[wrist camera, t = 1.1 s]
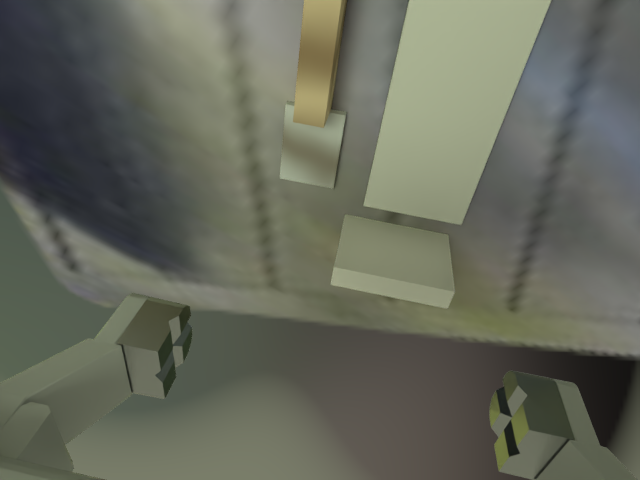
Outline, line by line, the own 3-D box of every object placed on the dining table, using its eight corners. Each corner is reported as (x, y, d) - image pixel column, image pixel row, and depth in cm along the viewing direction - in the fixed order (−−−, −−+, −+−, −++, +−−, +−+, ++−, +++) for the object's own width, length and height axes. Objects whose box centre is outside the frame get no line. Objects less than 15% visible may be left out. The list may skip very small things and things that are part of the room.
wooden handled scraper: (299, -40, 31) (286, -33, 28) (370, -28, 31) (365, -20, 27) (281, 174, 41) (270, 196, 38) (334, 184, 41) (327, 207, 38)
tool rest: (421, -55, 29) (421, -54, 28) (559, -32, 29) (563, -30, 28) (364, 200, 41) (363, 205, 41) (460, 218, 41) (461, 225, 40)
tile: (345, 213, 43) (333, 267, 36) (448, 234, 42) (455, 291, 36) (341, 231, 44) (330, 285, 38) (441, 251, 44) (446, 310, 37)
